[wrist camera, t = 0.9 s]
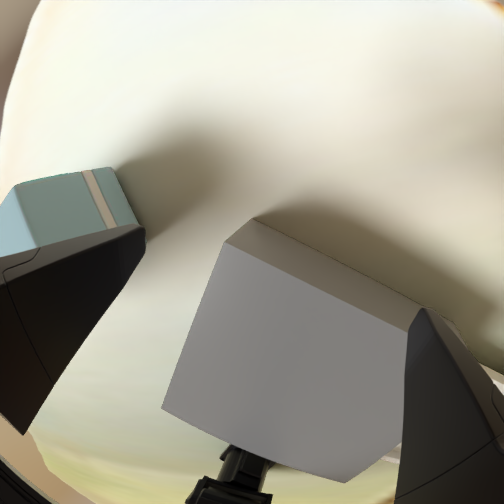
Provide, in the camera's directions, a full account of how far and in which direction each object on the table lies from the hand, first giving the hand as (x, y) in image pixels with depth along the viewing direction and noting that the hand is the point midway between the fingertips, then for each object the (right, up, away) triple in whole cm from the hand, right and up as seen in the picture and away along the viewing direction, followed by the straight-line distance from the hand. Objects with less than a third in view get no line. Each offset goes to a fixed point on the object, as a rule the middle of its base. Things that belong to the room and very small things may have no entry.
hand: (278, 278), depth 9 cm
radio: (-18, +3, +20) cm, 28 cm away
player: (+5, -9, +18) cm, 20 cm away
